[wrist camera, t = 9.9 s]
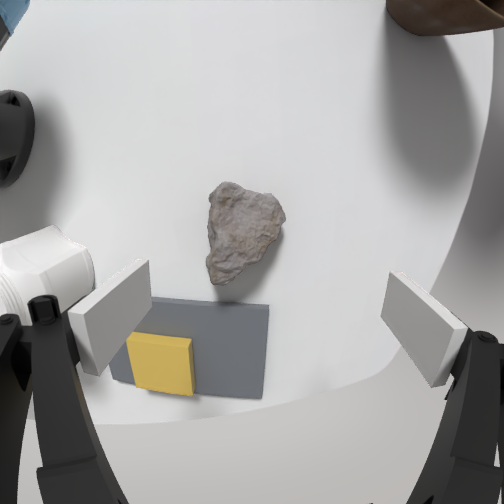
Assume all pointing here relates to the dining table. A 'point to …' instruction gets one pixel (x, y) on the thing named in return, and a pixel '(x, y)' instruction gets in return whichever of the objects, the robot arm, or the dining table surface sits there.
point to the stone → (239, 229)
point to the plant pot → (447, 16)
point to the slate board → (210, 343)
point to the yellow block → (162, 363)
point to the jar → (43, 271)
